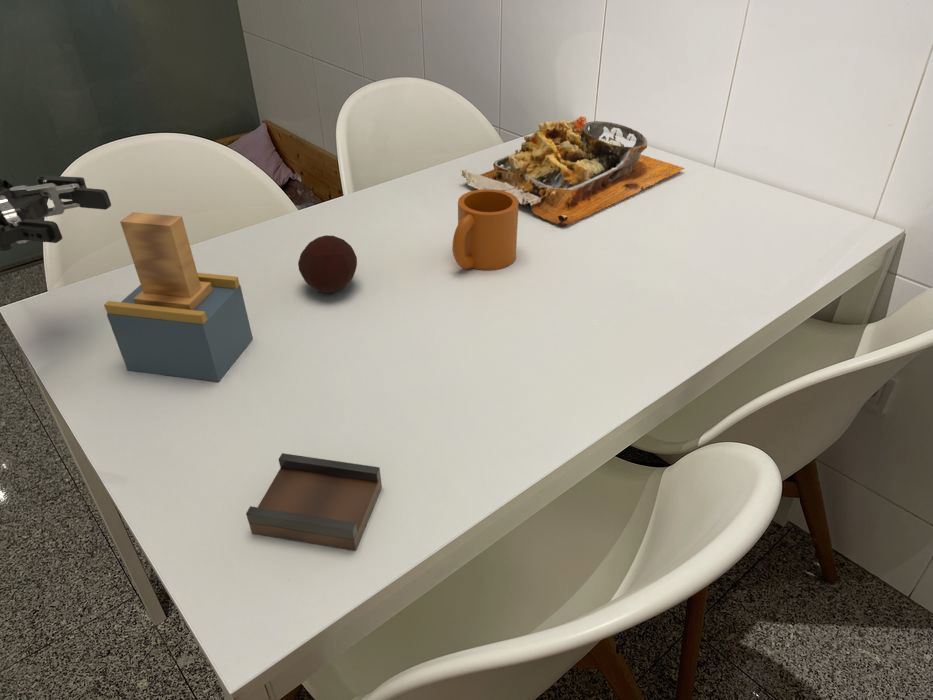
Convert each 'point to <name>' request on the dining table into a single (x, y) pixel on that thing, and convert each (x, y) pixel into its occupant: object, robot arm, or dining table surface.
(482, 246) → the mug
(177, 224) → the wooden pedestal block
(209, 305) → the blue railed block
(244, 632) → the dining table surface
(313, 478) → the brown u-shaped block
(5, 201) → the robot arm
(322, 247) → the dark maroon ball
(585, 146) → the food tray
